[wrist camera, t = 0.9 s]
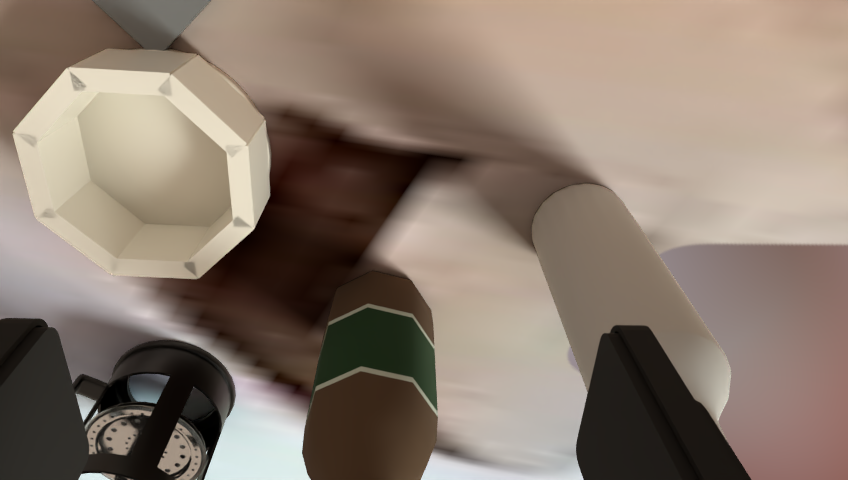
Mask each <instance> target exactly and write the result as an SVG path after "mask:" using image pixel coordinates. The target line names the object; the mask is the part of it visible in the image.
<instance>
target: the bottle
mask: <svg viewBox="0 0 848 480" xmlns="http://www.w3.org/2000/svg"><path fill="white" fill-rule="evenodd" d="M531 231H532V241H533V244H534V246H535V249H536V252H537V255H538V258H539V261H540V264H541V267H542V270H543V272H544V275H545V278H546V280H547V283H548V286H549V289H550V291H551V294H552V297H553V299H554V302H555V305H556V308H557V310H558V313H559V316H560V318H561V321H562V324H563V327H564V329H565V332H566V335H567V337H568V340H569V343H570V345H571V348H572V351H573V354H574V356H575V359H576V362H577V364H578V367H579V370H580V373H581V375H582V378H583V381H584V383H585V386H586V389H587V392H588V390H589V386H590V381H591V377H592V373H593V368H594V364H595V359H596V355H597V351H598V346H599V342H600V338H601V336H602V334H604V333H610V331H611V329H612V327H613V326H615V325H646V326H648V327H649V328H650V329H651V330H652V332H653V334H654V335H655V337H656V338H657V340H658V342H659V343H660V345H661V346H662V348H663V350H664V351H665V353H666V354H667V356H668V358H669V359H670V361H671V362H672V364H673V366H674V367H675V369H676V370H677V372H678V374H679V375H680V377H681V378H682V380H683V382H684V383H685V385H686V386H687V388H688V390H689V391H690V393H691V394H692V396H693V398H694V399H695V400H696V401H698V402H700V403H702V405H703V406H704V407H705V408H706V409H707V411H708V412H709V414H710V415H711V417H712V419H713V420H714V422H715V423H716V425H717V426H718V428H719V430H720V431H721V433H722V434H723V436H724V437H725V435H724V433H723V431H722V429H721V427H720V425H719V423H718V420H719V417H720V415H721V413H722V410H723V408H724V406H725V404H726V402H727V401H728V397H729V388H730V379H731V369H730V366H729V363H728V360H727V358H726V355H725V353H724V352H723V350H722V349H721V347H720V346H719V344H718V343H717V341H716V340H715V339H714V337H713V336H712V334H711V332H710V331H709V329H708V328H707V326H706V325H705V323H704V322H703V320H702V319H701V317H700V316H699V314H698V313H697V311H696V310H695V308H694V307H693V306H692V304H691V302H690V301H689V299H688V298H687V296H686V295H685V293H684V292H683V290H682V289H681V287H680V286H679V284H678V283H677V282H676V280H675V278H674V277H673V275H672V274H671V272H670V271H669V269H668V268H667V266H666V265H665V264H664V262H663V260H662V259H661V257H660V256H659V254H658V253H657V251H656V250H655V248H654V247H653V245H652V244H651V242H650V241H649V239H648V238H647V236H646V235H645V233H644V232H643V230H642V229H641V227H640V226H639V224H638V223H637V222H636V220H635V219H634V217H633V216H632V215H631V213H630V212H629V211H628V209H627V208H626V206H625V205H624V203H623V202H622V200H621V199H620V198H619V197H618V196H617V195H616V194H615V193H614V192H613V191H611V190H609V189H607V188H605V187H603V186H600V185H596V184H589V183H582V184H575V185H571V186H567V187H565V188H563V189H560V190H558V191H557V192H555V193H553V194H552V195H551V196H549V197H548V198H547V199H546V200H545V201H544V202H543V203H542V204H541V206H540V207H539V209H538V210H537V212H536V214H535V216H534V219H533V223H532V228H531ZM725 439H726V437H725ZM726 441H727V440H726Z"/></svg>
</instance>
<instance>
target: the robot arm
mask: <svg viewBox="0 0 848 480" xmlns="http://www.w3.org/2000/svg"><path fill="white" fill-rule="evenodd" d="M576 454H577V460H578V464H579V467H580V470H581V473H582V476H583V479H584V480H751V478H750V477H749V475H748V474H747V473H746V471H745V469H744V467H743V466H742V464H741V463H740V461H739V460H738V458H737V456H736V455H735V453H734V452H733V450H732V448H731V447H730V446H729V444H728V442H727V441H726V439H725V437H724V436H723V434H722V433H721V431H720V430H719V428H718V426H717V425H716V423H715V422H714V420H713V419H712V417H711V415H710V414H709V412H708V411H707V409H706V408H705V407H704V406H703V405H702V403H700V402H698V401H696V400H695V399H694V398H693V396H692V394H691V393H690V391H689V390H688V388H687V386H686V385H685V383H684V382H683V380H682V378H681V377H680V375H679V374H678V372H677V370H676V369H675V367H674V366H673V364H672V362H671V361H670V359H669V358H668V356H667V354H666V353H665V351H664V350H663V348H662V346H661V345H660V343H659V342H658V340H657V338H656V337H655V335H654V334H653V332H652V330H651V329H650V328H649V327H648V326H646V325H615V326H613V327H612V329H611V331H610V333H604V334H602V336H601V338H600V342H599V346H598V351H597V355H596V359H595V364H594V368H593V373H592V377H591V381H590V386H589V390H588V394H587V399H586V403H585V408H584V412H583V416H582V421H581V425H580V430H579V434H578V438H577V444H576ZM88 456H89V441H88V438H87V434H86V431H85V427H84V423H83V420H82V416H81V413H80V409H79V405H78V402H77V398H76V395H75V391H74V388H73V384H72V380H71V377H70V373H69V370H68V366H67V363H66V359H65V355H64V352H63V348H62V345H61V341H60V338H59V334H58V332H57V330H56V329H55V328H52V327H48V325H47V323H46V322H45V321H44V320H42V319H28V318H5V319H1V320H0V480H78V479H79V477H80V475H81V473H82V471H83V469H84V468H85V465H86V463H87V460H88Z"/></svg>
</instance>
